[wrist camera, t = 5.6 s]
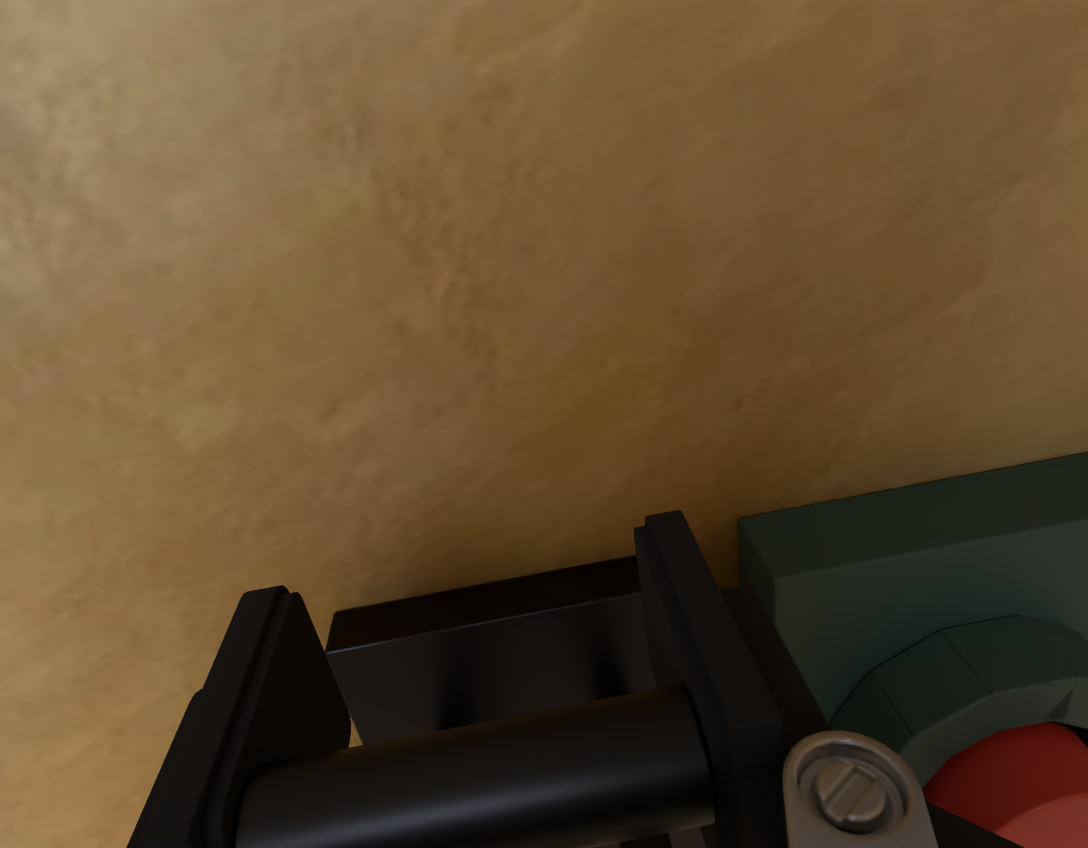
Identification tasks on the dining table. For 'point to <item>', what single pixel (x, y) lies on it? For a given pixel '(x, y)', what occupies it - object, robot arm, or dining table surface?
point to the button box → (935, 606)
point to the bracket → (497, 656)
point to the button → (1020, 786)
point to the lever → (497, 783)
